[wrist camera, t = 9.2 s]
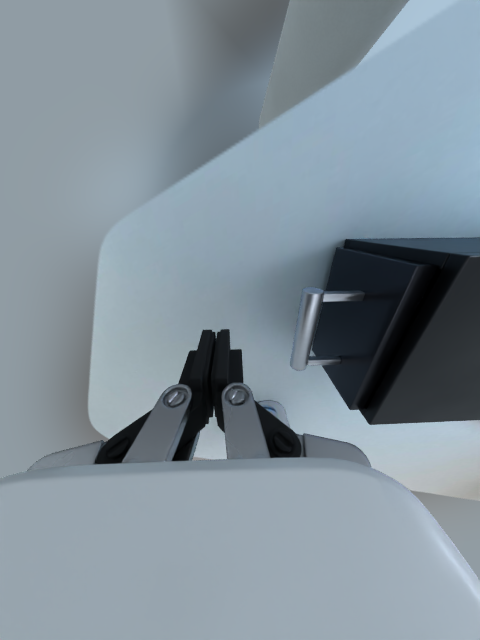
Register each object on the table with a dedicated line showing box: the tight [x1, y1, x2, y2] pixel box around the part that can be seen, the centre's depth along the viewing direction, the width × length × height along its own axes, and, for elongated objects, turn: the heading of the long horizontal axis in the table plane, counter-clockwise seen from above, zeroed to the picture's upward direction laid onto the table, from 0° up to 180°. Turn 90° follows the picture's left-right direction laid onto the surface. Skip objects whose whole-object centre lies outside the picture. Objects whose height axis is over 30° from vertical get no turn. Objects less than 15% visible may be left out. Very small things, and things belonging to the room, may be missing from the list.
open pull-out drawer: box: [290, 247, 442, 410], centre depth 15 cm, size 18×11×8 cm, turn 90°
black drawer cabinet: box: [344, 238, 480, 425], centre depth 15 cm, size 15×13×10 cm
